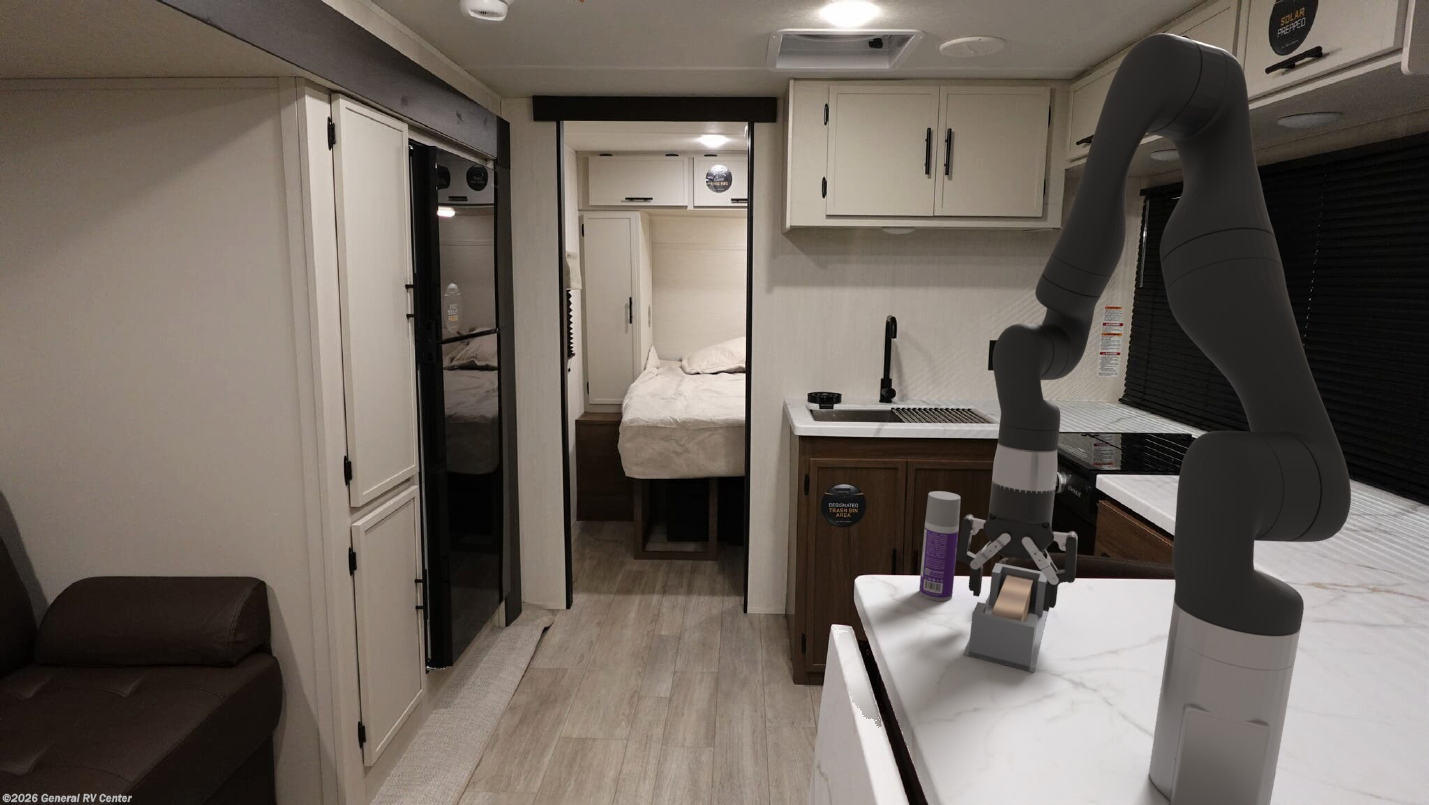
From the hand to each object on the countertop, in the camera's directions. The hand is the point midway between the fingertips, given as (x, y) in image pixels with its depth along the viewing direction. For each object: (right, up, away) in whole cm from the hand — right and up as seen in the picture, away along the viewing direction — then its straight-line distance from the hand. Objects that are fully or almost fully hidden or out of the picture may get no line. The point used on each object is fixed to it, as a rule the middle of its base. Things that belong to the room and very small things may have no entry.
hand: (1011, 601), depth 99 cm
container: (-6, -2, +12) cm, 14 cm away
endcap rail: (0, -4, +1) cm, 4 cm away
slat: (0, -4, +1) cm, 4 cm away
